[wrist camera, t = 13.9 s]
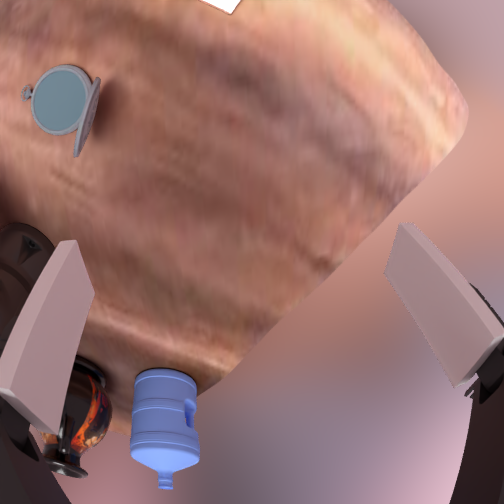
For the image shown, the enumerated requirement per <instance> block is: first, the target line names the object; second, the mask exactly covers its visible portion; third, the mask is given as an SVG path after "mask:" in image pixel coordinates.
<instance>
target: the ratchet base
mask: <svg viewBox="0 0 504 504" xmlns="http://www.w3.org/2000/svg"><path fill="white" fill-rule="evenodd" d="M198 1H201V2H203V3H205V4H208V5H210V6H212V7H214V8H216V9H219V10H221V11H223V12H225V13H227V14H229V15H230V14H231V13H232V12H233V10H234V9H235V8H236V6H237V5H238V3H239V2H240V1H241V0H198Z"/></svg>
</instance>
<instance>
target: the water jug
mask: <svg viewBox="0 0 504 504" xmlns="http://www.w3.org/2000/svg"><path fill="white" fill-rule="evenodd" d="M134 389H135V391H134V402H133V408H132V429H131V438H130V450H131V451H130V454H131V456H132V458H134V459H135V460H137V461H139V462H140V463H142V464H144V465H146V466H148V467H150V468H152V469H154V470H156V471H157V472H158V482H159V486H158V488H161V489H173V486H172V482H173V479H172V474H173V473H174V472H175V471H178V470H181V469H184V468H187V467H189V466H192V465H194V464H196V463H198V462H199V459H200V458H199V457H200V456H199V454H200V447H199V442H198V433H197V432H196V431H195V430H194V414H195V412H196V409H197V402H196V394H197V387H196V384H195V382H194V380H193V379H192V378H190V377H189V376H188V375H186V374H184V373H182V372H179V371H175V370H171V369H151V370H147V371H144V372H142V373H140V374H139V375H138V376H137V377H136V379H135V385H134ZM185 418H186V423H185Z"/></svg>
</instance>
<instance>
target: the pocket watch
mask: <svg viewBox="0 0 504 504" xmlns="http://www.w3.org/2000/svg"><path fill="white" fill-rule="evenodd" d="M100 82H101V79H100V78H99V77H96V79H95V80H94V82H93V84H91V82H90V79H89V78H88V76H87V75H86V73H85V72H84V71H83V70H81V69H80V68H78V67H76V66H73V65H59V66H56V67H54V68H51V69H50V70H48V71H47V72H46V73H44V74H43V75H42V76H41V78H40V79H39V80H38V82H37V83H36V85H35V87H34V90H33V93H31V89H29V86H28V85H26V86H24V88H25V87H28V90H27V91H25V92H24V96H25V98H26V100H27V99H28V98H29V97H30V96H31V97H32V98H31V110H32V114H33V117H34V120H35V121H36V123H37V124H38V126H39V127H40V128H41V129H42V130H44V131H45V132H47V133H49V134H52V135H65V134H68V133H71V132H73V131H75V130H76V129H77V128H78V130H77V134H76V139H75V145H74V157H78V156H79V154H80V152H81V150H82V148H83V146H84V144H85V141H86V139H87V137H88V134H89V132H90V129H91V126H92V123H93V120H94V117H95V113H96V109H97V104H98V99H99V91H100ZM24 88H23V89H22V92H23V90H24ZM22 92H21V99H22ZM26 100H23V99H22V101H26Z"/></svg>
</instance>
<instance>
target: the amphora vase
mask: <svg viewBox="0 0 504 504" xmlns="http://www.w3.org/2000/svg"><path fill="white" fill-rule="evenodd" d="M105 387H106V378H105V376H104V374H103V373H102V371H101V370H100V369H99V368H97V367H96V366H95V365H93V364H92V363H90V362H89V361H87V360H85V359H82V358H80V357H77V356H75V360H74V363H73V367H72V371H71V375H70V379H69V384H68V388H67V392H66V397H65V401H64V406H63V411H62V416H61V422H60V427H59V433H58V435H55V434H50V433H45V432H40V431H39V430H37V431H38V433H39V434H40V436H41V438H42V440H43V443H44V449H43V452H42V455H43V457H44V459H45V461H46V463H47V464H48V466H49V468H50V470H51V471H54V472H56V473H60V474H62V475H66V476H70V477H75V478H86V477H87V476H88V473H87V472H86V471H85V470H84V469H82V468H81V467H80V458H81V456H82V455H83V454H84V453H85V452H86V451H88V450H89V449H91V448H92V447H94V446H95V445H97V444H98V443H99V442H100V441H101V440H102V439H103V438H104V436H105V435H106V433H107V431H108V428H109V425H110V422H111V418H112V405H111V401H110V398H109V396H108V394H107V392H106V390H105V389H104V388H105Z"/></svg>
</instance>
